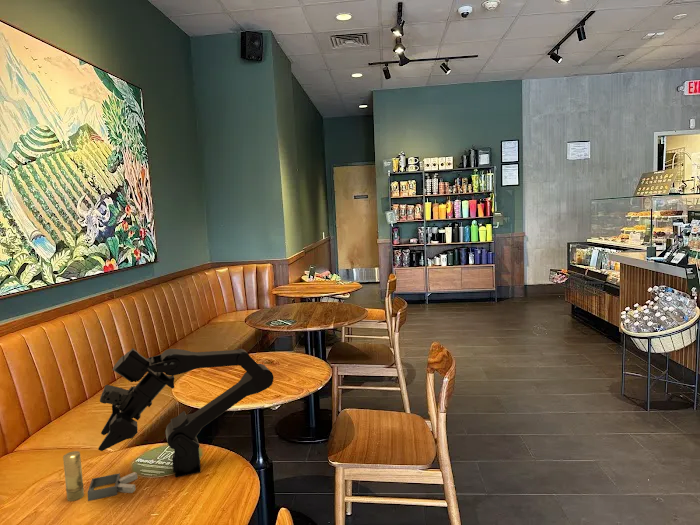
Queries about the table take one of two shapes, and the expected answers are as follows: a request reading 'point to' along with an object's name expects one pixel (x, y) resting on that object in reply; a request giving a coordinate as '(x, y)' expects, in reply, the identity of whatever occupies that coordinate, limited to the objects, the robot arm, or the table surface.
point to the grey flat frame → (111, 491)
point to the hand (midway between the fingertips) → (101, 441)
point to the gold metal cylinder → (73, 476)
